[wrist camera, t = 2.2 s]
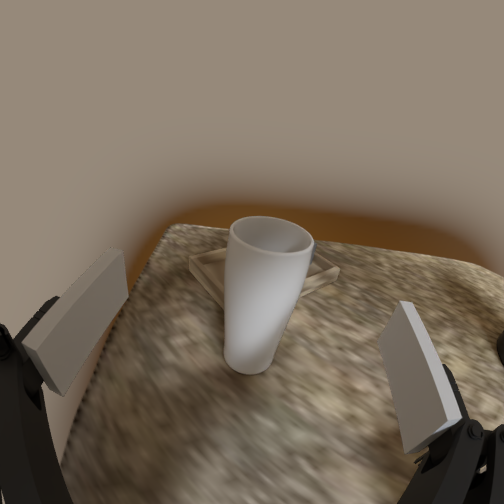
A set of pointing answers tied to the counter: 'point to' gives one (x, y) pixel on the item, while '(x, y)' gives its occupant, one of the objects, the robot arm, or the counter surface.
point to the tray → (213, 263)
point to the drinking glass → (261, 288)
